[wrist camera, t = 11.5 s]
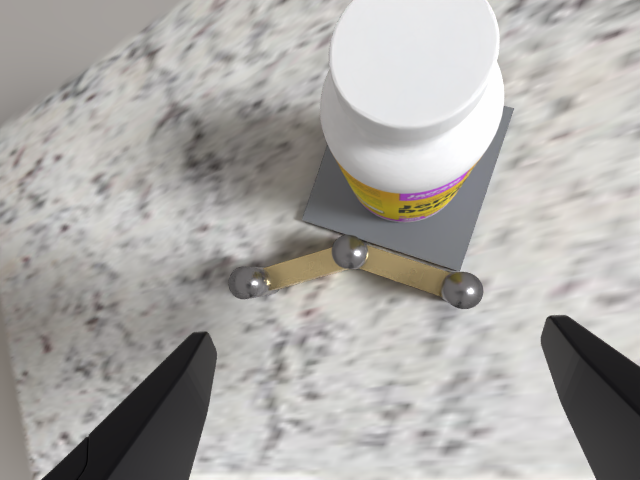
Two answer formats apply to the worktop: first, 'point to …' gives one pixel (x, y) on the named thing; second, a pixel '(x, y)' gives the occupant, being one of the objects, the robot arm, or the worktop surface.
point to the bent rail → (357, 255)
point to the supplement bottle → (411, 100)
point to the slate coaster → (412, 237)
